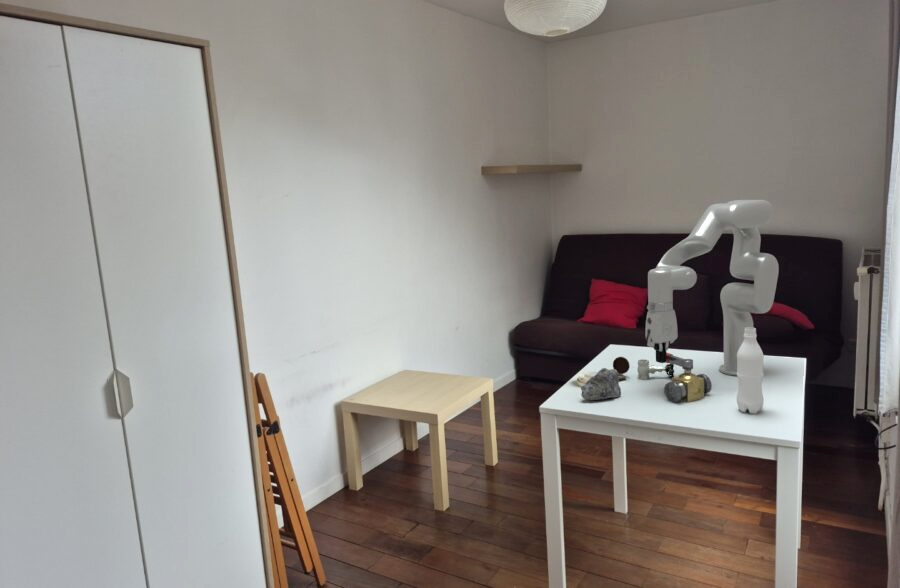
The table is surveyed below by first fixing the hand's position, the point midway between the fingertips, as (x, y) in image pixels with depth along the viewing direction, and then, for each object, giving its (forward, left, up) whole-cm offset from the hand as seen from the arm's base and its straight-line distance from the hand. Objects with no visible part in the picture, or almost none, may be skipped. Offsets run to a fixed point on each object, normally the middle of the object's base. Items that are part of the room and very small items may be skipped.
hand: (661, 361), depth 215 cm
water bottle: (-7, +28, -11) cm, 31 cm away
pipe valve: (-2, +9, -10) cm, 14 cm away
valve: (-9, -12, -11) cm, 19 cm away
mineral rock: (+19, -8, -11) cm, 23 cm away
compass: (0, -20, -11) cm, 22 cm away
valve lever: (-3, +3, -1) cm, 4 cm away
